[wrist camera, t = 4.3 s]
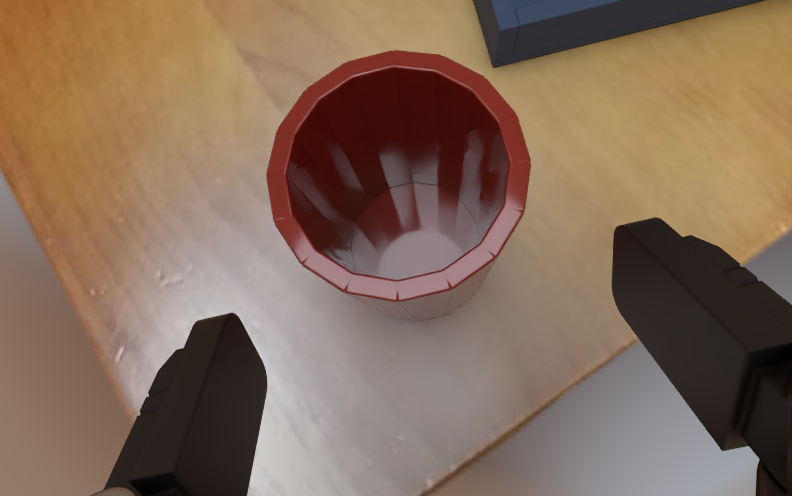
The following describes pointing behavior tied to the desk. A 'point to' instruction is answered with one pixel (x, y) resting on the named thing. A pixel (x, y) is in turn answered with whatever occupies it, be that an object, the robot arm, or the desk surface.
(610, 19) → the blue tray
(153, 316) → the desk surface
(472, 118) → the red cup
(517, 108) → the desk surface
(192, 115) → the desk surface
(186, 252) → the desk surface
